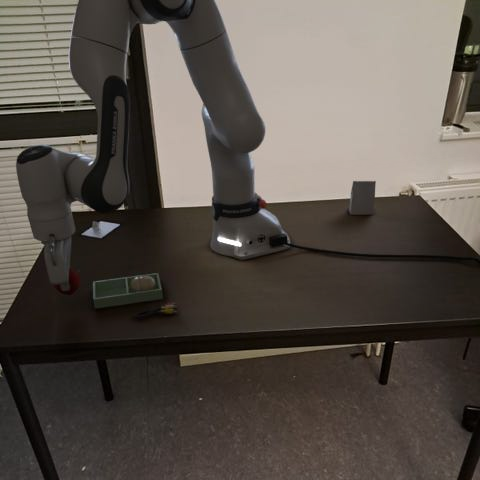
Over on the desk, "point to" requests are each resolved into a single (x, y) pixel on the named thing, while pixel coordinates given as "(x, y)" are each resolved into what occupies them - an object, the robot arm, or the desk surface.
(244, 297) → the desk surface
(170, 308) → the composite cable
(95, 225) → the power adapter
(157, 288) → the holder
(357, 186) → the grey rectangular block
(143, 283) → the cream rounded lump
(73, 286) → the onion
